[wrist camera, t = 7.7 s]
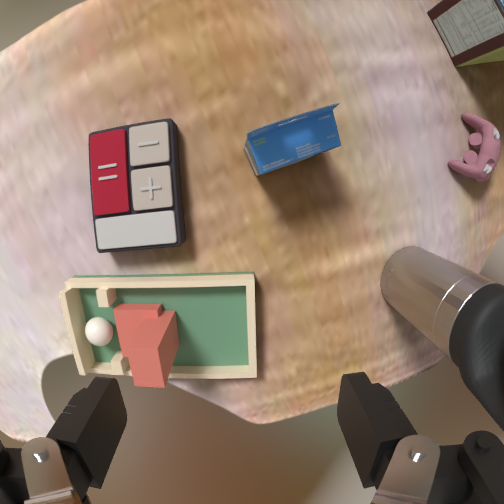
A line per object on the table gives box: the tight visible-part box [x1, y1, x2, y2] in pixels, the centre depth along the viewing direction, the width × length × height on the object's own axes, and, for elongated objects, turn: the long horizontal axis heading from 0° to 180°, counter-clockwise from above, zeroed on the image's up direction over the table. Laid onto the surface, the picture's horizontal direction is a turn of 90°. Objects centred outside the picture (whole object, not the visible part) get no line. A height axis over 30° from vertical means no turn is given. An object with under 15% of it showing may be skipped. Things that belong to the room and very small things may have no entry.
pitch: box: [59, 272, 257, 379], centre depth 39 cm, size 25×14×5 cm, turn 92°
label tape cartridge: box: [244, 103, 341, 176], centre depth 31 cm, size 9×4×12 cm, turn 112°
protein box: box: [427, 0, 504, 67], centre depth 26 cm, size 10×15×16 cm
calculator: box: [89, 119, 186, 253], centre depth 36 cm, size 11×4×15 cm
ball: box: [85, 317, 113, 346], centre depth 38 cm, size 4×4×4 cm
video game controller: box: [448, 113, 501, 182], centre depth 35 cm, size 10×5×7 cm, turn 158°
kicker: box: [113, 303, 179, 388], centre depth 35 cm, size 8×7×10 cm
